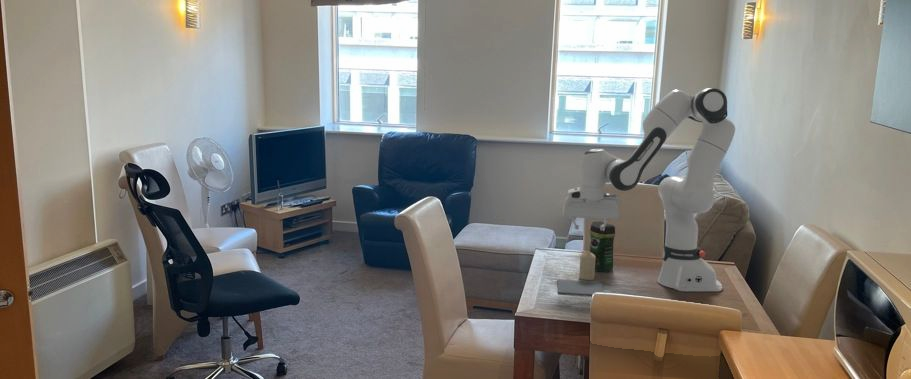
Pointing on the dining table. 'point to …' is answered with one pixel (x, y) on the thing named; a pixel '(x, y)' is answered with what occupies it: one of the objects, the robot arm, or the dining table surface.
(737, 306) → the dining table surface
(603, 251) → the coffee jar
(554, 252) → the dining table surface
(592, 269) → the candle
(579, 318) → the dining table surface
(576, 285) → the placemat
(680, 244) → the robot arm
